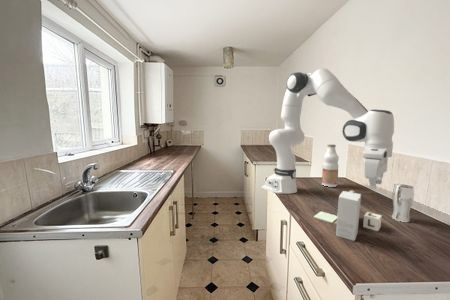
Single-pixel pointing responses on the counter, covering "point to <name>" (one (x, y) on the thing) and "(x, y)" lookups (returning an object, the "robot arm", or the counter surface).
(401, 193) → the beer glass
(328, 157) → the fruit juice
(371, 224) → the lettered cube
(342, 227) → the skincare box
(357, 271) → the counter surface
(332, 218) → the pad
